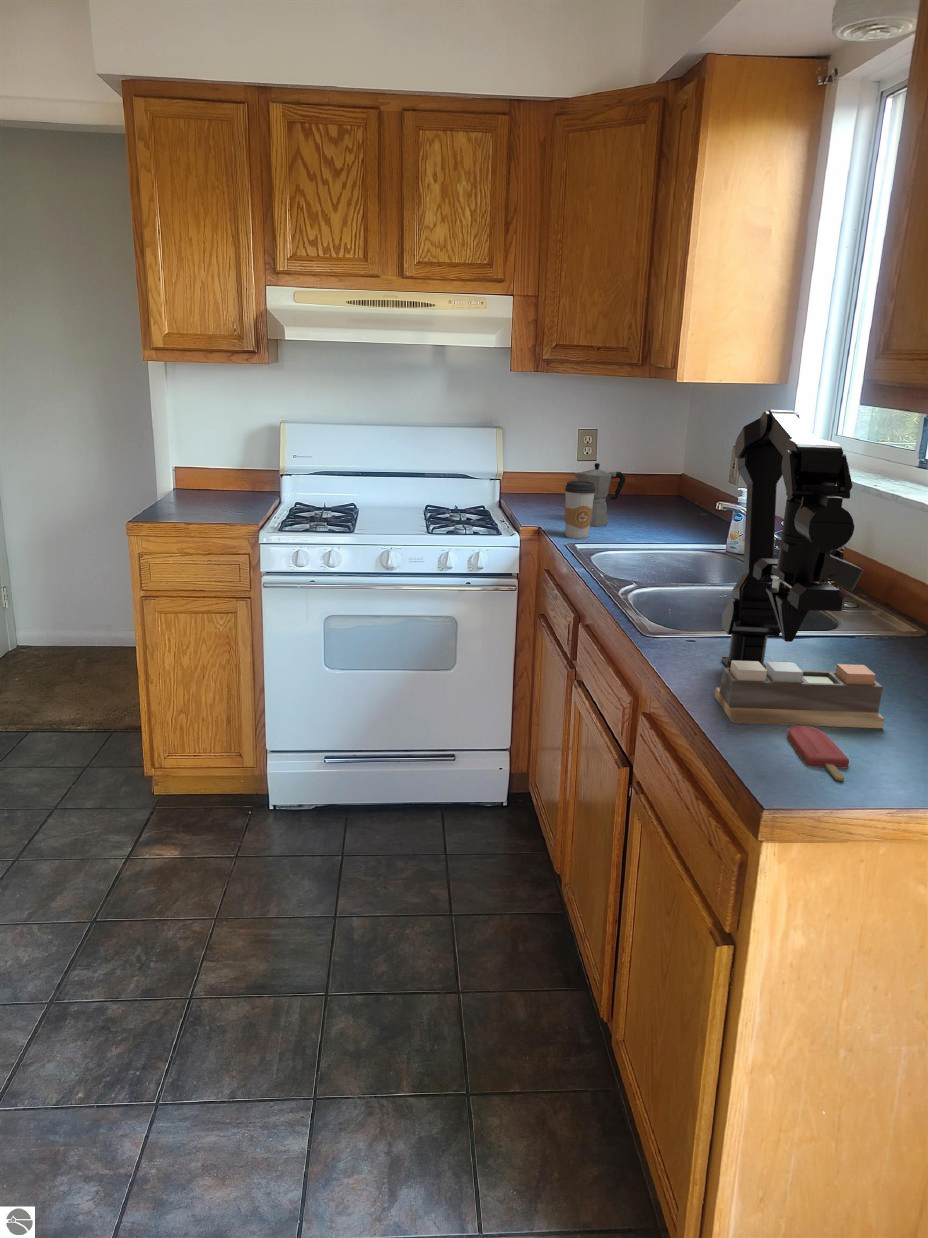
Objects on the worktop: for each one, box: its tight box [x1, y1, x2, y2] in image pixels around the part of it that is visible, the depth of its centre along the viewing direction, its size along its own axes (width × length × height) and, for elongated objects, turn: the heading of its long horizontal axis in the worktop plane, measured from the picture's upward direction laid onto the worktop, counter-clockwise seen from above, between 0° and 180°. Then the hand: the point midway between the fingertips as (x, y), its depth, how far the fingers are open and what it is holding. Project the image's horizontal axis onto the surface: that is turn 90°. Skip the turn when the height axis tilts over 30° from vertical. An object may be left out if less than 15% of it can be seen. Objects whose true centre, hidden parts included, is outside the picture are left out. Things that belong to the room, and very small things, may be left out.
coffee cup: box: [564, 480, 595, 540], centre depth 248 cm, size 8×8×15 cm
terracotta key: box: [835, 663, 877, 685], centre depth 132 cm, size 4×4×3 cm
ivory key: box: [730, 660, 767, 681], centre depth 132 cm, size 4×4×3 cm
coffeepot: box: [573, 462, 626, 528], centre depth 266 cm, size 15×9×18 cm, turn 95°
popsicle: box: [787, 725, 850, 782], centre depth 119 cm, size 5×2×15 cm
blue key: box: [765, 661, 803, 683], centre depth 132 cm, size 4×4×3 cm
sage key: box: [803, 676, 834, 684], centre depth 132 cm, size 4×4×3 cm
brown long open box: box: [714, 667, 885, 729], centre depth 132 cm, size 10×21×6 cm, turn 89°
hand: (787, 641), depth 130 cm, fingers closed
